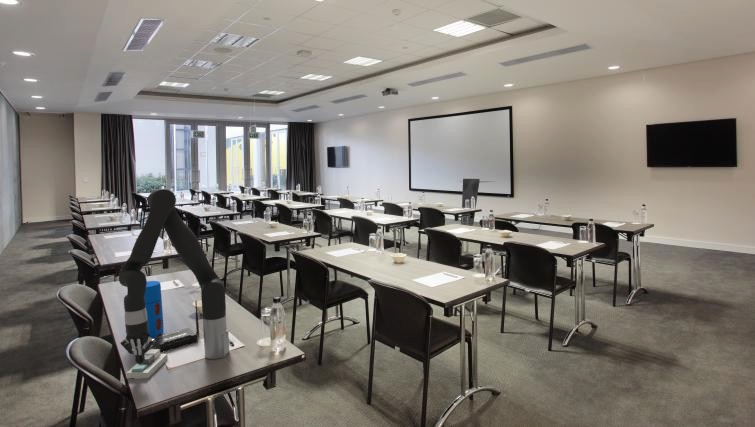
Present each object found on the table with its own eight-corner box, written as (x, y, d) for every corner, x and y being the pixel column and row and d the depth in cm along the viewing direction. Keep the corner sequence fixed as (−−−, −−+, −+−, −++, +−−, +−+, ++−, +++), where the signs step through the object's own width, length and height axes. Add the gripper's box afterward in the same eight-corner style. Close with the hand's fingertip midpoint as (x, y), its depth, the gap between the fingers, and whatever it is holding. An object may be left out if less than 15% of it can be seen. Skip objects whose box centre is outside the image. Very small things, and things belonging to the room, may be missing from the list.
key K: (160, 356, 180) (159, 349, 179) (155, 360, 176) (154, 353, 175) (150, 356, 180) (150, 349, 179) (145, 360, 176) (145, 353, 175)
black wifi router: (162, 354, 186) (159, 316, 184) (151, 344, 196) (148, 308, 193) (207, 340, 200) (205, 305, 198) (195, 332, 210) (193, 298, 208)
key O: (148, 371, 170) (147, 364, 170) (142, 376, 166) (142, 368, 166) (137, 371, 170) (137, 364, 169) (132, 376, 166) (131, 369, 166)
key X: (154, 361, 175) (153, 354, 174) (149, 366, 171) (148, 359, 170) (144, 361, 175) (143, 354, 174) (139, 366, 171) (138, 359, 170)
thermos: (150, 340, 200) (146, 288, 196) (133, 337, 203) (129, 286, 200) (169, 331, 210) (165, 281, 207) (151, 329, 213) (148, 280, 210)
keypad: (167, 359, 181) (167, 353, 181) (148, 378, 165) (147, 372, 165) (148, 359, 181) (148, 353, 180) (127, 378, 165) (126, 372, 165)
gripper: (158, 316, 169) (162, 358, 171) (124, 317, 168) (128, 359, 171) (148, 323, 161) (152, 367, 163) (113, 324, 161) (117, 368, 163)
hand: (140, 363), depth 167 cm, fingers closed
